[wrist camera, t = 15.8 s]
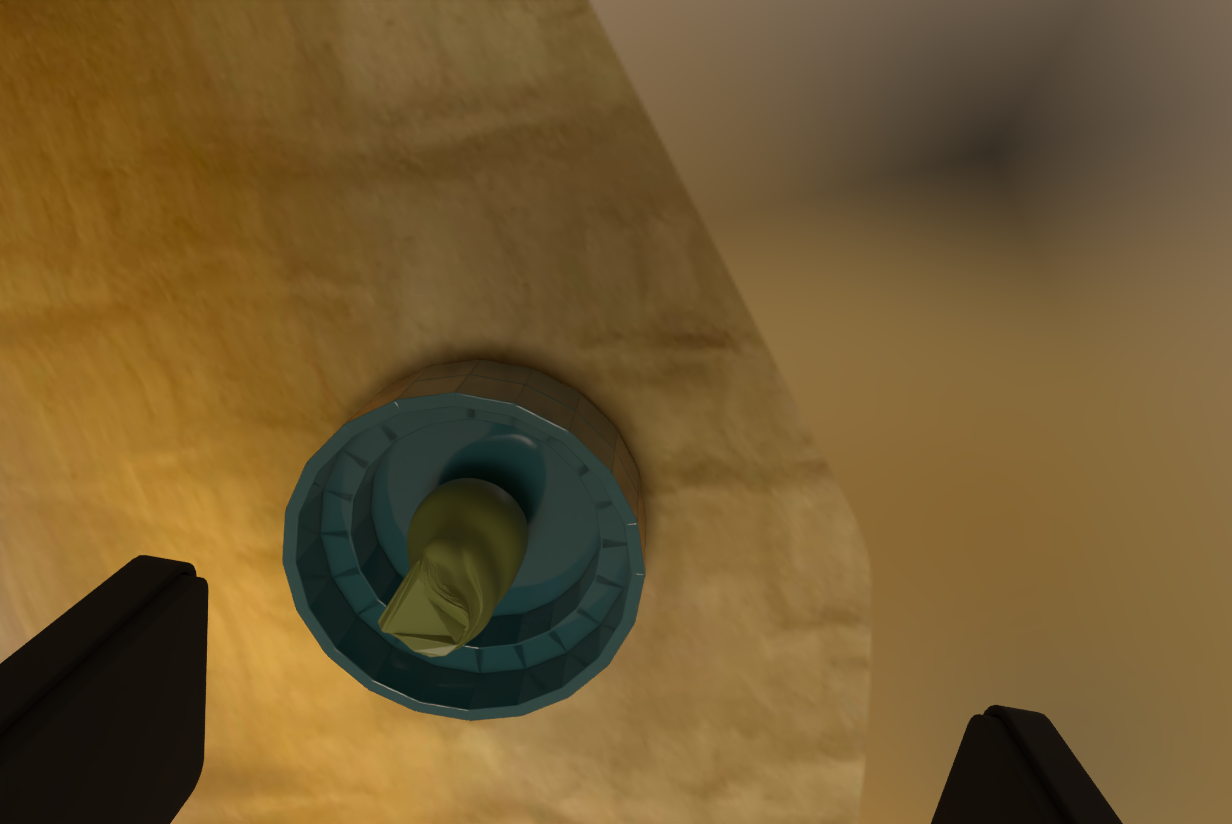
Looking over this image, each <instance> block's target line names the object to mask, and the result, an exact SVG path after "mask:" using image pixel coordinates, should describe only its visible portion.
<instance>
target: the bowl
mask: <svg viewBox="0 0 1232 824" xmlns="http://www.w3.org/2000/svg"><path fill="white" fill-rule="evenodd" d="M461 478H474V479H480V480H484V481H487V482H490V483H493V484H495V485H497V486H499V487H500V488H502V489H503V490H505V491H506V492H507V493H508V494H510V495H511V496H512V497H513V498H514V499H515V501H516V502H517V503H518V505H519V506H520V508H521V509H522V511H523V513H524V515H525V518H526V521H527V525H528V546H527V550H526V554H525V557H524V560H523V562H522V565H521V567H520V569H519V572H518V574H517V576H516V578H515V580H514V582H513V584H512V585H511V587H510V589H509V591H508V592H507V594H506V595H505V596H504V598H503V599H502V600H501V601H500V602H499V604H498V605H497V606H496V607H495V610H494V612H493V615H492V617H491V619H490V621H489V622H488V624H487V625H486V627H485V628H484V629H483V630H482V631H481V632H480V633H479V634H478V635H477V636H476V637H474V638H473V639H472V640H470V641H469V642H467V643H466V644H465V645H463V646H462V647H460V648H458V649H456V650H453V651H452V652H451V653H449V654H448V655H446V656H437V657H428V656H426V655H423V654H421V653H417V652H414V651H413V650H412V649H410V648H409V647H408V646H407V645H406V644H404V642H402V641H401V640H400V639H398V638H396V637H395V636H393V635H391V634H389V633H384V632H383V631H381V628H380V626H379V623H378V620H379V618H380V617H381V615H382V614H383V612H384V610H385V609H386V607H387V605H388V604H389V602H390V600H391V599H392V597H393V596H394V594H395V592H396V591H397V589H398V587H399V586H400V584H401V583H402V581H403V579H404V578H405V576H406V574H407V573H408V571H409V570H410V568H409V561H408V552H407V538H408V530H409V526H410V522H411V519H412V517H413V515H414V513H415V511H416V509H417V508H418V506H419V505H420V503H421V502H422V501H423V499H424V498H425V497H426V496H427V495H428V494H429V493H430V492H432V491H433V490H434V489H436V488H437V487H439V486H440V485H442V484H444V483H446V482H449V481H452V480H455V479H461ZM645 543H646V516H645V509H644V502H643V495H642V488H641V481H640V474H639V472H638V470H637V468H636V466H635V464H634V462H633V460H632V458H631V456H630V454H629V452H628V450H627V448H626V446H625V444H624V442H623V440H622V438H621V436H620V434H619V432H618V431H617V429H616V428H615V427H614V426H613V425H612V424H611V423H610V422H609V421H608V420H607V419H606V418H605V417H604V416H603V415H602V414H601V413H600V412H599V411H598V410H597V409H596V408H595V407H594V406H593V405H592V404H591V403H590V402H589V401H588V400H587V399H586V398H585V397H584V396H583V395H582V394H580V393H579V392H577V391H575V390H573V389H571V388H569V387H567V386H565V385H563V384H562V383H560V382H558V381H556V380H554V379H552V378H550V377H548V376H546V375H544V374H542V373H540V372H538V371H537V370H533V369H531V368H526V367H520V366H515V365H509V364H504V363H498V362H493V361H487V360H472V361H464V362H457V363H449V364H441V365H433V366H430V367H427V368H425V369H422V370H420V371H418V372H416V373H414V374H412V375H410V376H408V377H406V378H404V379H402V380H400V381H398V382H396V383H393V384H391V385H389V386H387V387H386V388H384V389H383V390H382V391H381V392H379V393H378V394H377V395H376V396H375V397H374V398H373V399H372V400H371V401H369V402H368V403H367V404H366V405H365V406H364V407H363V408H362V409H360V410H359V411H358V412H357V413H356V414H355V415H354V416H353V417H351V418H350V419H349V420H348V421H347V422H346V423H345V424H344V425H343V426H342V427H341V428H340V429H339V430H338V431H337V432H336V433H335V434H334V435H333V436H332V437H331V438H330V439H329V440H328V441H327V442H326V443H325V444H324V445H323V446H322V447H321V448H320V449H319V450H318V451H317V452H316V453H315V454H314V455H313V456H312V457H311V458H310V459H309V460H308V461H307V463H306V464H305V466H304V469H303V471H302V473H301V475H300V478H299V480H298V482H297V485H296V487H295V489H294V491H293V494H292V496H291V498H290V500H289V503H288V505H287V507H286V511H285V524H284V541H283V559H282V560H283V566H284V569H285V573H286V576H287V580H288V583H289V586H290V590H291V593H292V597H293V600H294V604H295V607H296V610H297V612H298V614H299V615H300V617H301V618H302V619H303V621H304V622H305V624H306V625H307V627H308V628H309V630H310V631H311V633H312V634H313V636H314V637H315V639H316V640H317V642H318V643H319V645H320V646H321V648H322V649H323V651H324V652H325V654H327V656H328V657H330V658H331V659H332V660H333V661H334V662H335V663H337V664H338V665H339V666H340V667H341V668H343V669H344V670H345V671H346V672H347V673H349V674H350V675H351V676H352V677H353V678H355V679H356V680H357V681H358V682H359V683H361V684H362V685H363V686H364V687H365V688H368V690H370V691H372V692H374V693H377V694H379V695H381V696H383V697H385V698H387V699H390V700H392V701H394V702H396V703H398V704H400V705H403V706H405V707H407V708H409V709H411V710H413V711H417V712H422V713H427V714H433V715H439V716H445V717H450V718H456V719H462V720H469V721H474V720H485V719H496V718H506V717H517V716H521V715H522V716H523V715H526V714H528V713H531V712H533V711H536V710H538V709H541V708H543V707H546V706H549V705H551V704H554V703H556V702H559V701H561V700H564V699H566V698H569V696H571V695H573V694H574V693H575V692H576V691H577V690H579V689H580V688H581V687H582V686H584V685H585V684H586V683H587V682H589V681H590V680H591V679H592V678H594V677H595V676H596V675H597V674H598V673H600V672H601V671H602V670H603V669H605V668H606V667H607V666H608V665H609V664H610V662H611V661H612V659H613V658H614V656H615V654H616V653H617V651H618V650H619V648H620V646H621V645H622V643H623V642H624V640H625V638H626V637H627V635H628V634H629V632H630V630H631V629H632V627H633V626H634V623H635V621H636V616H637V612H638V607H639V602H640V597H641V593H642V588H643V583H644V578H645V549H646V544H645Z"/></svg>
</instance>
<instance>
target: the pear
mask: <svg viewBox="0 0 1232 824" xmlns="http://www.w3.org/2000/svg"><path fill="white" fill-rule="evenodd" d="M527 546H528V525H527V521H526V518H525V515H524V513H523V511H522V509H521V508H520V506H519V505H518V503H517V502H516V501H515V499H514V498H513V497H512V496H511V495H510V494H508V493H507V492H506V491H505V490H503V489H502V488H500V487H499V486H497V485H495V484H493V483H490V482H487V481H484V480H480V479H474V478H461V479H455V480H452V481H449V482H446V483H444V484H442V485H440V486H439V487H437V488H436V489H434V490H433V491H432V492H430V493H429V494H428V495H427V496H426V497H425V498H424V499H423V501H422V502H421V503H420V505H419V506H418V508H417V509H416V511H415V513H414V515H413V517H412V519H411V522H410V526H409V530H408V538H407V552H408V561H409V568H410V570H409V571H408V573H407V574H406V576H405V578H404V579H403V581H402V583H401V584H400V586H399V587H398V589H397V591H396V592H395V594H394V596H393V597H392V599H391V600H390V602H389V604H388V605H387V607H386V609H385V610H384V612H383V614H382V615H381V617H380V618H379V620H378V623H379V626H380V628H381V631H383V632H384V633H389V634H391V635H393V636H395V637H396V638H398V639H400V640H401V641H402V642H404V644H406V645H407V646H408V647H409V648H410V649H412V650H413V651H414V652H417V653H421V654H423V655H426V656H428V657H437V656H446V655H448V654H449V653H451V652H452V651H453V650H456V649H458V648H460V647H462V646H463V645H465V644H466V643H467V642H469V641H470V640H472V639H473V638H474V637H476V636H477V635H478V634H479V633H480V632H481V631H482V630H483V629H484V628H485V627H486V625H487V624H488V622H489V621H490V619H491V617H492V615H493V612H494V610H495V607H496V606H497V605H498V604H499V602H500V601H501V600H502V599H503V598H504V596H505V595H506V594H507V592H508V591H509V589H510V587H511V585H512V584H513V582H514V580H515V578H516V576H517V574H518V572H519V569H520V567H521V565H522V562H523V560H524V557H525V554H526V550H527Z"/></svg>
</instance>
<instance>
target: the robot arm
mask: <svg viewBox="0 0 1232 824" xmlns="http://www.w3.org/2000/svg"><path fill="white" fill-rule="evenodd" d="M207 627H208V584H207V581H206V580H205V579H204V578H201V577H197V576H196V570H195V568H194V566H193V565H192V564H190V563H187V562H182V561H176V560H170V559H165V558H159V557H153V556H148V555H139V556H138V557H136V558H134V559H132V560H131V561H130V562H129V563H127V564H126V565H125V566H124V567H122V568H121V569H120V570H119V571H117V572H116V573H115V574H113V575H112V576H111V577H110V578H108V579H107V580H106V581H105V582H103V583H102V584H101V585H100V586H98V587H97V588H96V589H94V590H93V591H92V592H91V593H89V594H88V595H87V596H86V597H84V598H83V599H82V600H81V601H79V602H78V603H77V604H75V605H74V606H73V607H72V608H70V609H69V610H68V611H67V612H65V613H64V614H63V615H61V616H60V617H59V618H58V619H56V620H55V621H54V622H53V623H51V624H50V625H49V626H48V627H46V628H45V629H44V630H42V631H41V632H40V633H39V634H37V635H36V636H35V637H34V638H32V639H31V640H30V641H29V642H27V643H26V644H25V645H23V646H22V647H21V648H20V649H18V650H17V651H16V652H15V653H13V654H12V655H11V656H10V657H8V658H7V659H6V660H4V661H3V662H2V663H1V664H0V824H170V823H171V822H172V820H173V819H174V817H175V816H176V815H177V813H178V812H179V810H180V809H181V808H182V806H183V805H184V803H185V802H186V801H187V799H188V798H189V796H190V795H191V793H192V792H193V790H194V789H195V787H196V784H197V782H198V780H199V777H200V775H201V772H202V767H203V763H204V742H205V704H206V666H207ZM931 824H1123V823H1122V822H1121V821H1120V819H1119V818H1118V816H1117V815H1116V814H1115V812H1114V811H1113V809H1112V808H1111V807H1110V805H1109V804H1108V802H1107V801H1106V799H1105V798H1104V797H1103V795H1102V794H1101V792H1100V791H1099V789H1098V788H1097V787H1096V785H1095V784H1094V783H1093V781H1092V780H1091V778H1090V777H1089V775H1088V774H1087V773H1086V771H1085V770H1084V768H1083V767H1082V765H1081V764H1080V762H1079V761H1078V760H1077V759H1076V757H1075V755H1074V754H1073V753H1072V752H1071V750H1070V748H1069V747H1068V745H1067V744H1066V743H1065V741H1064V740H1063V738H1062V737H1061V736H1060V734H1059V733H1058V731H1057V730H1056V728H1055V727H1054V726H1053V724H1052V723H1051V721H1050V720H1049V719H1048V718H1047V717H1046V716H1045V715H1044V714H1041V713H1038V712H1034V711H1028V710H1022V709H1016V708H1011V707H1005V706H999V705H993V706H990V707H989V708H988V709H987V710H986V711H985V712H984V714H983V715H980V714H978V715H974V716H973V717H972V718H971V719H970V721H969V723H968V725H967V728H966V731H965V733H964V736H963V739H962V741H961V744H960V747H959V750H958V752H957V755H956V758H955V760H954V763H953V766H952V768H951V771H950V774H949V776H948V779H947V782H946V784H945V787H944V790H943V792H942V795H941V798H940V801H939V803H938V806H937V809H936V811H935V814H934V817H933V819H932V822H931Z"/></svg>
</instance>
